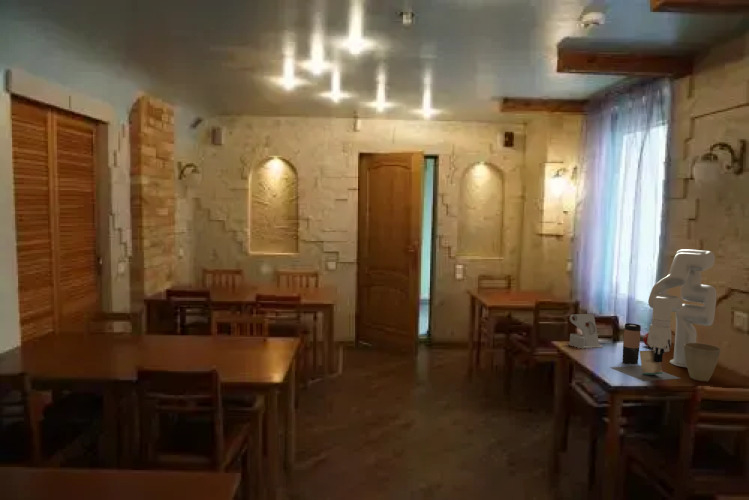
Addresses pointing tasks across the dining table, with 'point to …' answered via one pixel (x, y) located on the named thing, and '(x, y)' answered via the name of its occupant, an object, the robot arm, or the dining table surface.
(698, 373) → the plant pot
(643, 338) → the christmas ornament
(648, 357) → the maple block
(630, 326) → the travel mug
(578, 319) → the phone holder
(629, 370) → the rubber mat
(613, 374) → the dining table surface
